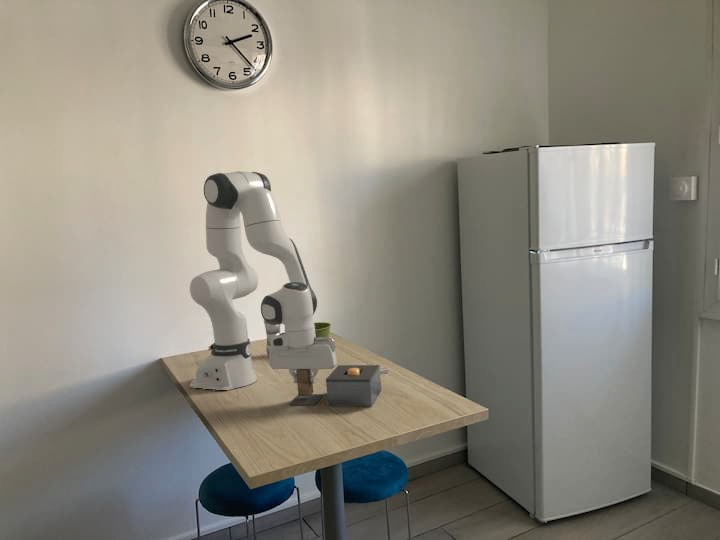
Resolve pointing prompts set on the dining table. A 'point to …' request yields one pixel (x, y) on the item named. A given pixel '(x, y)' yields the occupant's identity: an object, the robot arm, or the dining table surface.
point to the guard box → (353, 386)
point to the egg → (353, 371)
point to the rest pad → (306, 400)
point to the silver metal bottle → (271, 333)
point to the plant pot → (322, 329)
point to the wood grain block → (304, 382)
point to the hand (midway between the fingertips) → (304, 382)
